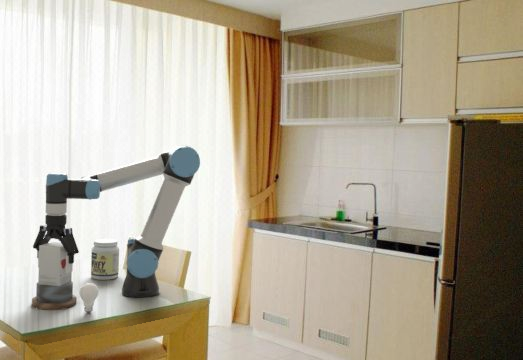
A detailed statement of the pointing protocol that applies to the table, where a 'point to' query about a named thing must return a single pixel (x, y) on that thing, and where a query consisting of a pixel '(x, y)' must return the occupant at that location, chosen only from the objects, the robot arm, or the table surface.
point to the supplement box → (53, 265)
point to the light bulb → (88, 295)
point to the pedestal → (54, 297)
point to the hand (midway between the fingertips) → (55, 269)
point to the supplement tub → (105, 259)
